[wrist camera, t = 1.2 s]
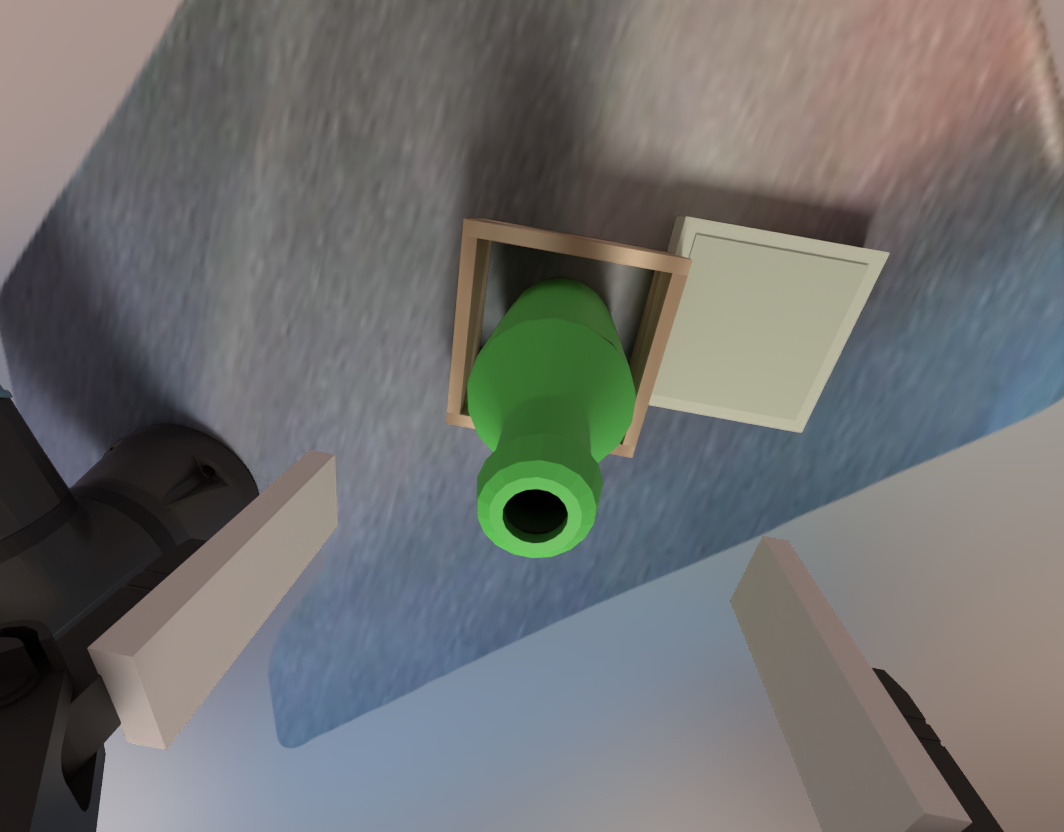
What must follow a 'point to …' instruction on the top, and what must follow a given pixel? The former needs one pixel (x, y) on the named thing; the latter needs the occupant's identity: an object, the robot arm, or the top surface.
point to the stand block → (759, 321)
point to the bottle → (548, 416)
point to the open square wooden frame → (666, 265)
